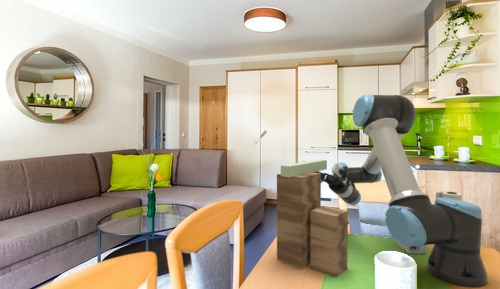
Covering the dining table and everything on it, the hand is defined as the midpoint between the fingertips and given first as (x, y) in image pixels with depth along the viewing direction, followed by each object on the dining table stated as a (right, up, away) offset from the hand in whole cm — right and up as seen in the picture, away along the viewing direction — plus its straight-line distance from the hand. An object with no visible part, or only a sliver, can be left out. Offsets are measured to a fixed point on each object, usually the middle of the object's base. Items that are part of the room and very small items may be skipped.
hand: (317, 165), depth 110 cm
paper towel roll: (+49, -32, 0) cm, 59 cm away
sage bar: (-6, -2, -7) cm, 9 cm away
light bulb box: (+35, -32, 0) cm, 47 cm away
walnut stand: (-5, -32, -12) cm, 35 cm away
